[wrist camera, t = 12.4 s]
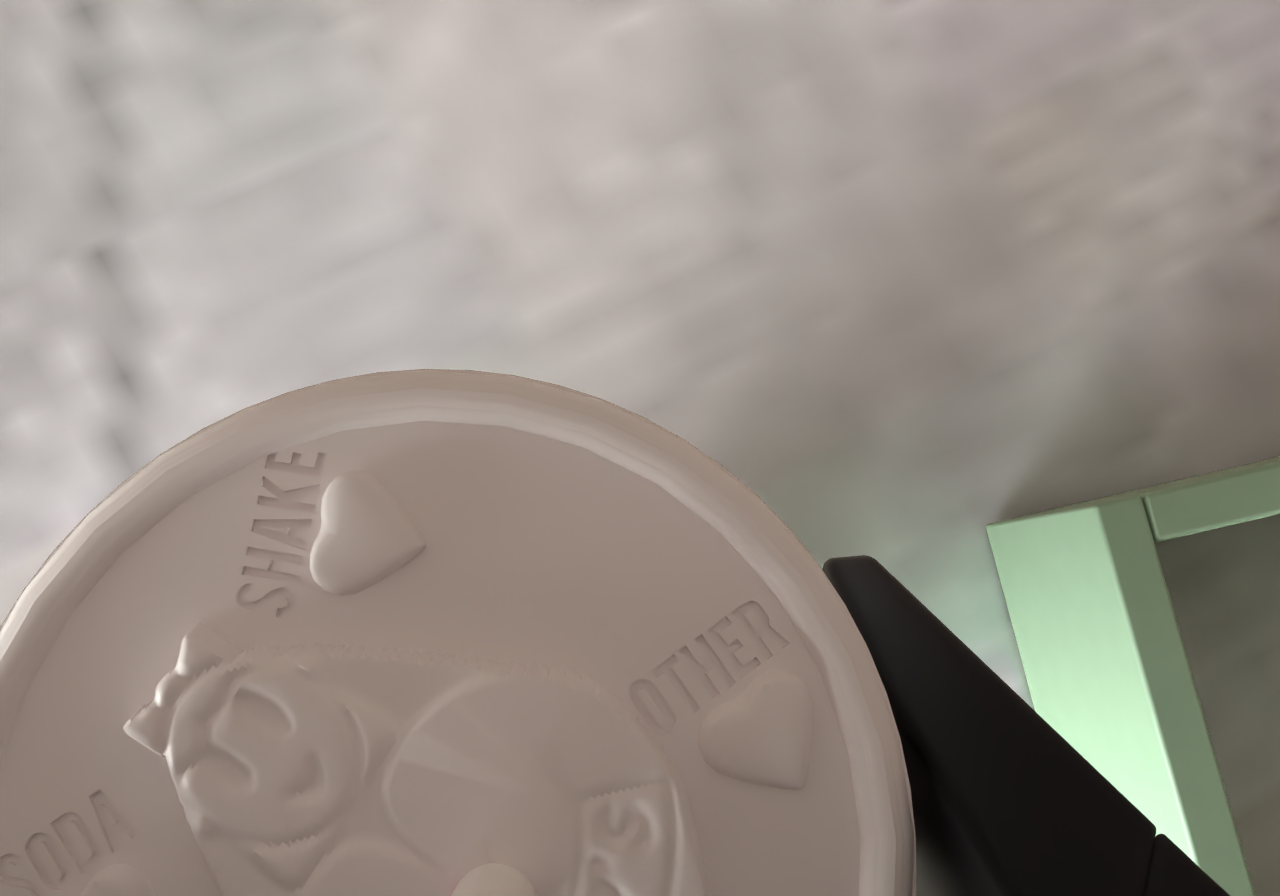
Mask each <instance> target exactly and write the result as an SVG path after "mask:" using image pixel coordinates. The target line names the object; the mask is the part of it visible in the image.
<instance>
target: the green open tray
mask: <svg viewBox="0 0 1280 896" xmlns="http://www.w3.org/2000/svg"><path fill="white" fill-rule="evenodd" d="M1277 514H1280V457H1276V458H1272V459H1268V460H1263V461H1259V462H1255V463H1250V464H1246V465H1242V466H1237V467H1233V468H1229V469H1224V470H1220V471H1216V472H1211V473H1207V474H1203V475H1198V476H1194V477H1190V478H1185V479H1181V480H1177V481H1172V482H1168V483H1164V484H1159V485H1155V486H1151V487H1146V488H1142V489H1138V490H1133V491H1129V492H1125V493H1120V494H1116V495H1112V496H1107V497H1103V498H1099V499H1094V500H1090V501H1086V502H1082V503H1077V504H1073V505H1069V506H1064V507H1060V508H1056V509H1051V510H1047V511H1043V512H1038V513H1034V514H1030V515H1026V516H1021V517H1016V518H1012V519H1008V520H1003V521H999V522H995V523H990V524H988V525H987V526H986V529H987V533H988V537H989V540H990V544H991V548H992V552H993V555H994V559H995V563H996V566H997V570H998V574H999V578H1000V581H1001V585H1002V589H1003V593H1004V596H1005V600H1006V604H1007V608H1008V611H1009V615H1010V619H1011V623H1012V626H1013V630H1014V634H1015V637H1016V641H1017V645H1018V649H1019V652H1020V656H1021V660H1022V664H1023V667H1024V671H1025V675H1026V679H1027V682H1028V686H1029V690H1030V693H1031V697H1032V701H1033V705H1034V708H1035V712H1036V713H1037V714H1038V715H1040V716H1041V717H1042V718H1043V719H1044V720H1045V721H1046V722H1047V723H1048V724H1049V725H1050V726H1051V727H1052V728H1053V729H1054V730H1055V731H1056V732H1057V733H1058V734H1059V735H1061V736H1062V737H1063V738H1064V739H1065V740H1066V741H1067V742H1068V743H1069V744H1070V745H1071V746H1072V747H1073V748H1074V749H1075V750H1076V751H1077V752H1078V753H1079V754H1080V755H1082V756H1083V757H1084V758H1085V759H1086V760H1087V761H1088V762H1089V763H1090V764H1091V765H1092V766H1093V767H1094V768H1095V769H1096V770H1097V771H1098V772H1099V773H1100V774H1101V775H1103V776H1104V777H1105V778H1106V779H1107V780H1108V781H1109V782H1110V783H1111V784H1112V785H1113V786H1114V787H1115V788H1116V789H1117V790H1118V791H1119V792H1120V793H1121V794H1122V795H1124V796H1125V797H1126V798H1127V799H1128V800H1129V801H1130V802H1131V803H1132V804H1133V805H1134V806H1135V807H1136V808H1137V809H1138V810H1139V811H1140V812H1141V813H1142V814H1143V815H1145V816H1146V817H1147V818H1148V819H1149V820H1150V821H1151V822H1152V823H1153V824H1154V825H1155V827H1156V835H1158V834H1165V835H1166V836H1167V837H1168V838H1169V839H1170V840H1171V841H1172V842H1173V843H1174V844H1175V845H1177V846H1178V847H1179V848H1180V849H1181V850H1182V851H1183V852H1184V853H1185V854H1186V855H1187V856H1188V857H1189V858H1190V859H1191V860H1192V861H1193V862H1194V863H1195V864H1197V865H1198V866H1199V867H1200V868H1201V869H1202V870H1203V871H1204V872H1205V873H1206V874H1207V875H1208V876H1209V877H1211V878H1212V879H1213V880H1214V881H1215V882H1216V883H1217V884H1218V885H1219V886H1220V887H1222V888H1223V889H1224V890H1225V891H1226V892H1227V893H1228V894H1229V895H1230V896H1256V895H1255V892H1254V888H1253V885H1252V881H1251V878H1250V874H1249V871H1248V867H1247V864H1246V860H1245V857H1244V853H1243V850H1242V846H1241V843H1240V839H1239V836H1238V833H1237V829H1236V826H1235V822H1234V819H1233V815H1232V812H1231V808H1230V805H1229V801H1228V798H1227V794H1226V791H1225V787H1224V784H1223V780H1222V777H1221V773H1220V770H1219V766H1218V763H1217V759H1216V756H1215V752H1214V749H1213V745H1212V742H1211V738H1210V735H1209V731H1208V728H1207V724H1206V721H1205V717H1204V714H1203V710H1202V707H1201V703H1200V700H1199V696H1198V693H1197V689H1196V686H1195V682H1194V679H1193V675H1192V672H1191V668H1190V665H1189V662H1188V658H1187V655H1186V651H1185V648H1184V644H1183V641H1182V637H1181V634H1180V630H1179V627H1178V623H1177V620H1176V616H1175V613H1174V609H1173V606H1172V602H1171V599H1170V595H1169V592H1168V588H1167V585H1166V581H1165V578H1164V574H1163V571H1162V567H1161V564H1160V560H1159V557H1158V553H1157V550H1156V546H1155V543H1154V542H1162V541H1166V540H1170V539H1174V538H1179V537H1183V536H1187V535H1192V534H1196V533H1200V532H1204V531H1209V530H1213V529H1217V528H1222V527H1226V526H1230V525H1234V524H1239V523H1243V522H1247V521H1252V520H1256V519H1260V518H1265V517H1269V516H1273V515H1277Z"/></svg>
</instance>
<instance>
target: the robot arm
mask: <svg viewBox="0 0 1280 896" xmlns="http://www.w3.org/2000/svg"><path fill="white" fill-rule="evenodd" d="M822 570H823V572H824V573H825V575H826V576H827V578H828V579H829V581H830V582H831V584H832V585H833V587H834V588H835V590H836V591H837V593H838V594H839V596H840V597H841V599H842V601H843V602H844V604H845V605H846V607H847V609H848V611H849V613H850V615H851V616H852V618H853V620H854V622H855V624H856V626H857V628H858V630H859V632H860V634H861V635H862V637H863V639H864V641H865V643H866V645H867V647H868V649H869V651H870V654H871V656H872V659H873V661H874V664H875V666H876V668H877V671H878V673H879V676H880V678H881V681H882V683H883V685H884V688H885V690H886V693H887V696H888V699H889V703H890V706H891V709H892V713H893V716H894V719H895V722H896V726H897V729H898V732H899V736H900V739H901V744H902V749H903V754H904V758H905V763H906V768H907V773H908V778H909V783H910V788H911V798H912V807H913V816H914V826H915V835H916V896H1230V895H1229V894H1228V893H1227V892H1226V891H1225V890H1224V889H1223V888H1222V887H1220V886H1219V885H1218V884H1217V883H1216V882H1215V881H1214V880H1213V879H1212V878H1211V877H1209V876H1208V875H1207V874H1206V873H1205V872H1204V871H1203V870H1202V869H1201V868H1200V867H1199V866H1198V865H1197V864H1195V863H1194V862H1193V861H1192V860H1191V859H1190V858H1189V857H1188V856H1187V855H1186V854H1185V853H1184V852H1183V851H1182V850H1181V849H1180V848H1179V847H1178V846H1177V845H1175V844H1174V843H1173V842H1172V841H1171V840H1170V839H1169V838H1168V837H1167V836H1166V835H1165V834H1158V835H1156V827H1155V825H1154V824H1153V823H1152V822H1151V821H1150V820H1149V819H1148V818H1147V817H1146V816H1145V815H1143V814H1142V813H1141V812H1140V811H1139V810H1138V809H1137V808H1136V807H1135V806H1134V805H1133V804H1132V803H1131V802H1130V801H1129V800H1128V799H1127V798H1126V797H1125V796H1124V795H1122V794H1121V793H1120V792H1119V791H1118V790H1117V789H1116V788H1115V787H1114V786H1113V785H1112V784H1111V783H1110V782H1109V781H1108V780H1107V779H1106V778H1105V777H1104V776H1103V775H1101V774H1100V773H1099V772H1098V771H1097V770H1096V769H1095V768H1094V767H1093V766H1092V765H1091V764H1090V763H1089V762H1088V761H1087V760H1086V759H1085V758H1084V757H1083V756H1082V755H1080V754H1079V753H1078V752H1077V751H1076V750H1075V749H1074V748H1073V747H1072V746H1071V745H1070V744H1069V743H1068V742H1067V741H1066V740H1065V739H1064V738H1063V737H1062V736H1061V735H1059V734H1058V733H1057V732H1056V731H1055V730H1054V729H1053V728H1052V727H1051V726H1050V725H1049V724H1048V723H1047V722H1046V721H1045V720H1044V719H1043V718H1042V717H1041V716H1040V715H1038V714H1037V713H1036V712H1035V711H1034V710H1033V709H1032V708H1031V707H1030V706H1029V705H1028V704H1027V703H1026V702H1025V701H1024V700H1023V699H1022V698H1021V697H1020V696H1019V695H1017V694H1016V693H1015V692H1014V691H1013V690H1012V689H1011V688H1010V687H1009V686H1008V685H1007V684H1006V683H1005V682H1004V681H1003V680H1002V679H1001V678H1000V677H999V676H998V675H996V674H995V673H994V672H993V671H992V670H991V669H990V668H989V667H988V666H987V665H986V664H985V663H984V662H983V661H982V660H981V659H980V658H979V657H978V656H976V655H975V654H974V653H973V652H972V651H971V650H970V649H969V648H968V647H967V646H966V645H965V644H964V643H963V642H962V641H961V640H960V639H959V638H958V637H957V636H955V635H954V634H953V633H952V632H951V631H950V630H949V629H948V628H947V627H946V626H945V625H944V624H943V623H942V622H941V621H940V620H939V619H938V618H937V617H936V616H934V615H933V614H932V613H931V612H930V611H929V610H928V609H927V608H926V607H925V606H924V605H923V604H922V603H921V602H920V601H919V600H918V599H917V598H916V597H915V596H913V595H912V594H911V593H910V592H909V591H908V590H907V589H906V588H905V587H904V586H903V585H902V584H901V583H900V582H899V581H898V580H897V579H896V578H895V577H894V576H892V575H891V574H890V573H889V572H888V571H887V570H886V569H885V568H884V567H883V566H882V565H881V564H880V563H879V562H878V561H877V560H875V559H874V558H872V557H870V556H865V555H863V556H851V557H839V558H831V559H829V560H827V561H826V562H825V563H824V566H823V569H822Z"/></svg>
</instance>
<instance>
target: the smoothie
mask: <svg viewBox="0 0 1280 896" xmlns="http://www.w3.org/2000/svg"><path fill="white" fill-rule="evenodd" d="M0 896H916V835H915V826H914V816H913V807H912V798H911V788H910V783H909V778H908V773H907V768H906V763H905V758H904V754H903V749H902V744H901V739H900V736H899V732H898V729H897V726H896V722H895V719H894V716H893V713H892V709H891V706H890V703H889V699H888V696H887V693H886V690H885V688H884V685H883V683H882V681H881V678H880V676H879V673H878V671H877V668H876V666H875V664H874V661H873V659H872V656H871V654H870V651H869V649H868V647H867V645H866V643H865V641H864V639H863V637H862V635H861V634H860V632H859V630H858V628H857V626H856V624H855V622H854V620H853V618H852V616H851V615H850V613H849V611H848V609H847V607H846V605H845V604H844V602H843V601H842V599H841V597H840V596H839V594H838V593H837V591H836V590H835V588H834V587H833V585H832V584H831V582H830V581H829V579H828V578H827V576H826V575H825V573H824V572H823V570H822V569H821V567H820V565H819V564H818V563H817V562H816V561H815V559H814V558H813V557H812V556H811V554H810V553H809V552H808V551H807V549H806V548H805V547H804V546H803V544H802V543H801V542H800V541H799V539H798V538H797V537H796V536H795V534H794V533H793V532H792V531H791V529H790V528H789V527H788V526H787V525H786V524H785V523H784V522H783V521H782V520H781V519H780V518H779V517H778V516H777V515H776V514H775V513H774V512H773V511H772V510H771V509H770V508H769V507H768V506H767V505H766V504H765V503H764V502H763V501H762V500H761V499H760V498H759V497H758V496H757V495H756V494H755V493H754V492H753V491H752V490H750V489H749V488H748V487H747V486H746V485H744V484H743V483H742V482H741V481H740V480H739V479H737V478H736V477H735V476H734V475H733V474H731V473H730V472H729V471H728V470H727V469H725V468H724V467H723V466H722V465H720V464H719V463H718V462H716V461H715V460H713V459H712V458H710V457H709V456H707V455H706V454H704V453H703V452H702V451H700V450H699V449H697V448H696V447H694V446H693V445H691V444H690V443H689V442H687V441H686V440H684V439H682V438H681V437H679V436H677V435H675V434H673V433H672V432H670V431H668V430H666V429H664V428H663V427H661V426H659V425H657V424H655V423H653V422H652V421H650V420H648V419H646V418H644V417H642V416H640V415H638V414H635V413H633V412H631V411H628V410H626V409H624V408H622V407H619V406H617V405H615V404H612V403H610V402H608V401H605V400H603V399H600V398H597V397H594V396H591V395H588V394H585V393H582V392H579V391H575V390H572V389H569V388H566V387H563V386H560V385H556V384H551V383H547V382H542V381H538V380H533V379H528V378H524V377H519V376H515V375H506V374H498V373H490V372H481V371H473V370H442V369H418V370H405V371H391V372H378V373H372V374H366V375H360V376H354V377H349V378H343V379H337V380H332V381H328V382H324V383H320V384H317V385H313V386H309V387H306V388H302V389H298V390H295V391H291V392H287V393H285V394H282V395H279V396H277V397H274V398H271V399H269V400H266V401H263V402H261V403H258V404H255V405H253V406H250V407H247V408H245V409H243V410H240V411H238V412H236V413H234V414H232V415H230V416H228V417H226V418H224V419H222V420H220V421H218V422H216V423H214V424H212V425H210V426H208V427H205V428H203V429H201V430H200V431H198V432H197V433H195V434H193V435H192V436H190V437H188V438H187V439H185V440H183V441H182V442H180V443H178V444H177V445H175V446H173V447H172V448H170V449H168V450H167V451H165V452H164V453H162V454H160V455H159V456H158V457H156V458H155V459H154V460H152V461H151V462H150V463H148V464H147V465H146V466H144V467H143V468H142V469H140V470H139V471H138V472H136V473H135V474H134V475H132V476H131V477H129V478H128V479H127V480H125V481H124V482H123V483H122V484H121V485H119V486H118V487H117V488H116V489H115V490H114V491H113V492H112V493H110V494H109V495H108V496H107V497H106V498H105V499H104V500H103V501H102V502H100V503H99V504H98V505H97V506H96V507H95V508H94V509H93V510H91V511H90V512H89V513H88V514H87V515H86V516H85V517H84V518H83V519H82V520H81V522H80V523H79V524H78V525H77V526H76V527H75V528H74V529H73V530H72V531H71V532H70V533H69V534H68V536H67V537H66V538H65V539H64V540H63V541H62V542H61V543H60V544H59V545H58V546H57V547H56V549H55V550H54V551H53V552H52V553H51V555H50V556H49V557H48V559H47V560H46V561H45V562H44V564H43V565H42V566H41V568H40V569H39V570H38V572H37V573H36V574H35V575H34V577H33V578H32V579H31V581H30V582H29V583H28V585H27V586H26V587H25V588H24V590H23V592H22V593H21V595H20V596H19V598H18V599H17V601H16V603H15V604H14V606H13V607H12V609H11V610H10V612H9V614H8V615H7V617H6V618H5V620H4V621H3V623H2V625H1V626H0Z"/></svg>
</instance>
